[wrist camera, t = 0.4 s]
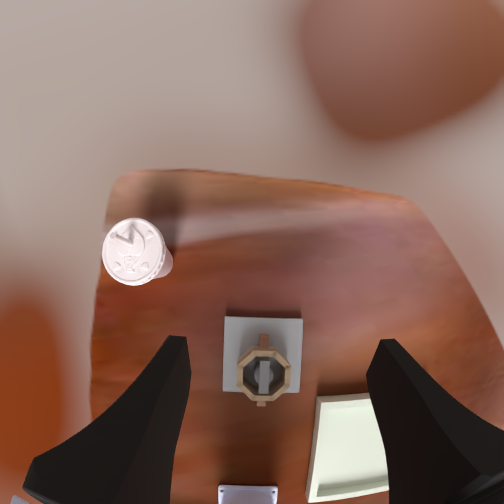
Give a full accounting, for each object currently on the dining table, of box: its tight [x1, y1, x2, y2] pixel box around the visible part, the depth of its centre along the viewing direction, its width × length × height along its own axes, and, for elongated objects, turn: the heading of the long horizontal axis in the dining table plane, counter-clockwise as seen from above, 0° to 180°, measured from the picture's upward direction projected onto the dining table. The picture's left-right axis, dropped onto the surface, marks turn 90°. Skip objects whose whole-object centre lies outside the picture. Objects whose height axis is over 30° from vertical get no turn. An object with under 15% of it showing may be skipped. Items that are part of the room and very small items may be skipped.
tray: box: [305, 393, 389, 503], centre depth 32 cm, size 16×16×2 cm
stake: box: [223, 316, 303, 394], centre depth 32 cm, size 9×9×5 cm
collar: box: [236, 334, 291, 406], centre depth 32 cm, size 8×6×4 cm
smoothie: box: [102, 218, 173, 286], centre depth 30 cm, size 6×6×14 cm
